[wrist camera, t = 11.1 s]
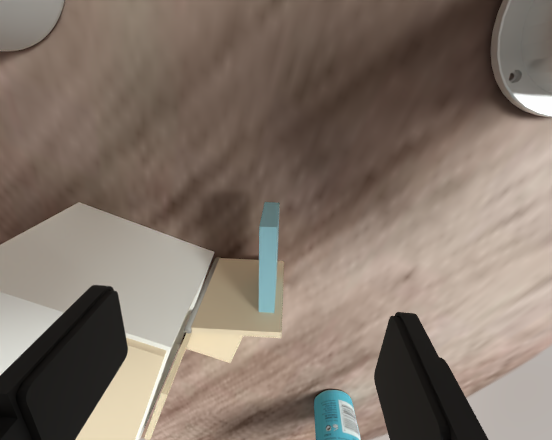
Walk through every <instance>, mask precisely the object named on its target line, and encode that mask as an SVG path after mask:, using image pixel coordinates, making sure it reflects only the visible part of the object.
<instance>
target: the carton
mask: <svg viewBox="0 0 552 440" xmlns="http://www.w3.org/2000/svg"><path fill="white" fill-rule="evenodd" d="M214 253H215V252H213V251H210V250H208V249H205V248H202V247H199V246H197V245H194V244H191V243H189V242H186V241H183V240H180V239H178V238H175V237H172V236H170V235H167V234H164V233H161V232H159V231H156V230H153V229H151V228H148V227H145V226H142V225H140V224H137V223H134V222H132V221H129V220H126V219H123V218H121V217H118V216H115V215H113V214H110V213H107V212H104V211H102V210H99V209H96V208H94V207H91V206H88V205H85V204H83V203H80V202H78V203H76V204H75V205H73V206H71V207H69V208H67V209H65V210H64V211H62V212H60V213H58V214H56V215H54V216H52V217H51V218H49V219H47V220H45V221H43V222H41V223H39V224H38V225H36V226H34V227H32V228H30V229H28V230H27V231H25V232H23V233H21V234H19V235H17V236H15V237H14V238H12V239H10V240H8V241H6V242H4V243H2V244H1V245H0V375H1V374H2V373H3V372H4V371H5V370H6V369H7V368H8V367H9V366H10V365H11V364H12V363H13V362H14V361H15V360H16V359H17V358H18V357H19V356H20V355H21V354H23V353H24V352H25V351H26V350H27V349H28V348H29V347H30V346H31V345H32V344H33V343H34V342H35V341H36V340H37V339H38V338H39V337H40V336H41V335H42V334H43V333H44V332H45V331H46V330H47V329H48V328H49V327H50V326H51V325H52V324H53V323H54V322H55V321H56V320H57V319H58V318H59V317H60V316H61V315H62V314H63V313H64V312H65V311H66V310H67V309H68V308H69V307H70V306H71V305H72V304H73V303H74V302H75V301H76V300H77V299H78V298H79V297H80V296H82V295H83V294H84V293H85V292H86V291H87V290H88V289H89V288H90V287H91V286H92V285H103V286H111V287H112V288H113V289H114V291H117V293H118V296H119V302H120V307H121V313H122V318H123V324H124V329H125V335H126V340H127V346H128V353H127V356H126V359H125V360H124V362H123V364H122V365H121V367H120V368H119V370H118V372H117V373H116V375H115V377H114V378H113V380H112V381H111V383H110V385H109V386H108V388H107V389H106V391H105V393H104V394H103V396H102V397H101V399H100V401H99V402H98V404H97V405H96V407H95V409H94V410H93V412H92V414H91V415H90V417H89V418H88V420H87V422H86V423H85V425H84V426H83V428H82V430H81V431H80V433H79V434H78V436H77V438H76V439H75V440H140V438H141V435H142V433H143V431H144V428H145V426H146V424H147V421H148V419H149V416H150V414H151V412H152V409H153V407H154V405H155V402H156V400H157V398H158V395H159V393H160V391H161V388H162V386H163V384H164V381H165V379H166V377H167V374H168V372H169V370H170V367H171V365H172V363H173V360H174V358H175V356H176V353H177V351H178V349H179V346H180V344H181V341H182V338H183V336H184V333H185V331H184V328H185V326H186V324H187V322H188V319H189V317H190V315H191V312H192V310H193V308H194V306H195V303H196V301H197V298H198V296H199V293H200V290H201V287H202V285H203V282H204V279H205V277H206V274H207V271H208V269H209V266H210V263H211V261H212V258H213V255H214ZM217 258H220V257H217ZM242 337H243V336H235V335H217V334H198V333H186V335H185V338H184V340H183V342H182V345H181V347H180V350H179V352H178V354H177V357H176V359H175V361H174V364H173V366H172V369H171V371H170V373H169V376H168V378H167V380H166V383H165V385H164V388H163V390H162V392H161V395H160V398H159V400H158V403H157V406H156V408H155V411H154V414H153V416H152V419H151V422H150V424H149V427H148V430H147V433H146V435H145V438H144V439H147V440H150V438H151V436H152V433H153V431H154V428H155V426H156V423H157V421H158V418H159V416H160V413H161V411H162V408H163V406H164V403H165V401H166V398H167V396H168V393H169V391H170V388H171V386H172V383H173V381H174V378H175V376H176V373H177V370H178V368H179V365H180V363H181V360H182V358H183V355H184V353H185V350H186V349H189V350H192V351H195V352H198V353H201V354H204V355H207V356H210V357H213V358H216V359H219V360H223V361H226V362H229V363H230V362H231V360H232V358H233V356H234V354H235V352H236V350H237V348H238V346H239V344H240V342H241V339H242Z"/></svg>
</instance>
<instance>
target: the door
mask: <svg viewBox="0 0 552 440" xmlns="http://www.w3.org/2000/svg"><path fill="white" fill-rule="evenodd" d="M279 205H280V203H275V202H265V203H264V208H263V213H262V217H261V222H260V226H259V260H249V259H228V258H215V260H214V262H213V264H212V267H211V269H210V271H209V274H208V276H207V278H206V280H205V283H204V285H203V287H202V290H201V292H200V294H199V296H198V299H197V301H196V303H195V306H194V308H193V310H192V312H191V315H190V317H189V319H188V322H187V324H186V326H185V328H184V331H185V332H186V333H198V334H217V335H235V336H253V337H272V338H281V334H282V304H283V274H284V261H277V258H278V231H279Z"/></svg>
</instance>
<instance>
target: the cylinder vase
mask: <svg viewBox="0 0 552 440" xmlns="http://www.w3.org/2000/svg"><path fill="white" fill-rule="evenodd" d="M64 1H65V0H0V51H17V50H22V49H25V48H28V47H31V46H33V45H35V44H36V43H38V42H40V41H41V40H42V39H44V38H45V37H46V36H47V35H48V34H49V33H50V31H51V30H52V29H53V27H54V26H55V24H56V23H57V21H58V19H59V17H60V14H61V12H62V9H63V5H64Z"/></svg>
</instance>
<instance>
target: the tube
mask: <svg viewBox="0 0 552 440" xmlns="http://www.w3.org/2000/svg"><path fill="white" fill-rule="evenodd" d="M314 414H315V432H316V440H361V438H360V434H359V429H358V425H357V421H356V416H355V412H354V408H353V404H352V400H351V398H350V396H349V395H348V394H346V393H345V392H343V391H339V390H326V391H324V392H322V393H320V394H319V395H317V396H316V398H315V400H314Z"/></svg>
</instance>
